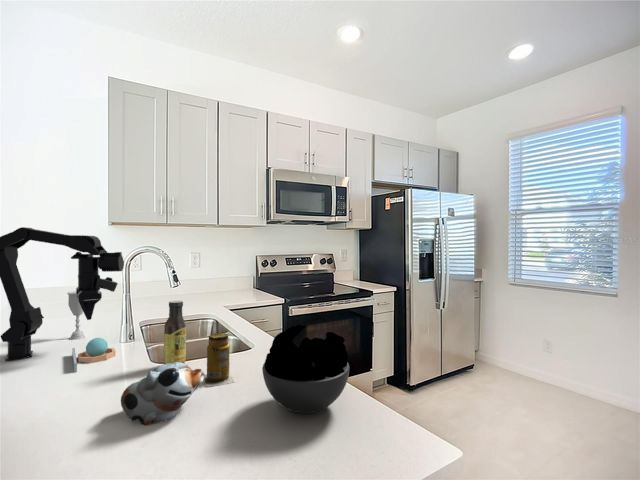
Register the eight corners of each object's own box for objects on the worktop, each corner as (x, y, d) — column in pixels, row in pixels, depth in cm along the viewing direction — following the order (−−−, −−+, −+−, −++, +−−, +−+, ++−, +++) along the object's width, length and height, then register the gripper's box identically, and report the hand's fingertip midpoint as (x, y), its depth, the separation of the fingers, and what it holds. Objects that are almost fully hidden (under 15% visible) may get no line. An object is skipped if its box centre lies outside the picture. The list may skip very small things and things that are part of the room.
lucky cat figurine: (177, 391, 84) (202, 345, 83) (191, 429, 76) (219, 378, 74) (113, 392, 74) (140, 340, 73) (121, 436, 65) (151, 378, 64)
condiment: (228, 371, 97) (228, 330, 98) (234, 382, 90) (234, 338, 90) (202, 375, 94) (202, 333, 94) (206, 387, 87) (206, 342, 87)
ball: (85, 355, 109) (85, 337, 109) (106, 351, 113) (106, 334, 113) (86, 361, 104) (86, 342, 104) (108, 357, 108) (108, 338, 108)
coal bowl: (250, 399, 80) (251, 322, 80) (322, 382, 90) (322, 313, 90) (282, 443, 63) (283, 344, 63) (367, 416, 73) (367, 331, 73)
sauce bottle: (177, 371, 97) (177, 303, 97) (158, 369, 98) (158, 303, 99) (190, 363, 104) (190, 300, 104) (172, 361, 105) (172, 299, 105)
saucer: (77, 356, 109) (77, 351, 109) (112, 350, 116) (112, 345, 116) (78, 365, 102) (78, 360, 102) (116, 358, 108) (116, 353, 108)
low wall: (72, 355, 110) (72, 347, 110) (74, 355, 111) (74, 347, 111) (74, 372, 96) (74, 363, 96) (76, 371, 96) (76, 363, 97)
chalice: (62, 338, 129) (62, 292, 129) (80, 334, 135) (80, 290, 135) (74, 341, 126) (74, 293, 126) (92, 336, 132) (92, 291, 132)
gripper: (119, 272, 112) (119, 318, 111) (112, 268, 126) (112, 309, 126) (78, 274, 105) (78, 323, 105) (76, 270, 119) (75, 313, 119)
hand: (88, 317), depth 114 cm, fingers open, 9 cm apart
